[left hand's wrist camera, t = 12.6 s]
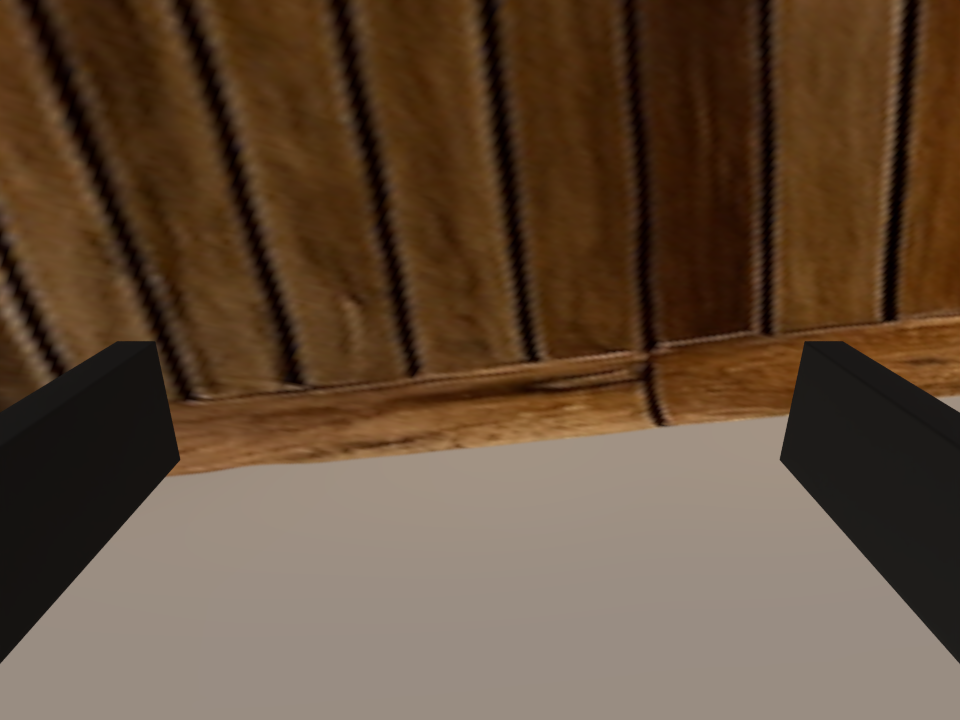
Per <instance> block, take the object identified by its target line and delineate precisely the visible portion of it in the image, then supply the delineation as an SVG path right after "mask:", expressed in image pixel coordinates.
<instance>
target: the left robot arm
mask: <svg viewBox="0 0 960 720" xmlns="http://www.w3.org/2000/svg"><path fill="white" fill-rule="evenodd" d="M179 461H180V456H179V451H178V446H177V442H176V437H175V432H174V428H173V423H172V418H171V413H170V409H169V404H168V399H167V395H166V390H165V385H164V380H163V376H162V371H161V366H160V362H159V357H158V352H157V347H156V343H155V341H117V342H115V343H114V344H112V345H110V346H109V347H107V348H106V349H104V350H102V351H101V352H99V353H97V354H96V355H94V356H92V357H91V358H89V359H88V360H86V361H84V362H83V363H81V364H79V365H78V366H76V367H74V368H73V369H71V370H69V371H68V372H66V373H65V374H63V375H61V376H60V377H58V378H56V379H55V380H53V381H51V382H50V383H48V384H46V385H45V386H43V387H42V388H40V389H38V390H37V391H35V392H33V393H32V394H30V395H28V396H27V397H25V398H23V399H22V400H20V401H19V402H17V403H15V404H14V405H12V406H10V407H9V408H7V409H5V410H4V411H2V412H0V663H1V662H2V661H3V660H4V659H5V658H6V657H7V655H8V654H9V653H10V652H11V651H12V650H13V649H14V647H15V646H16V645H17V644H18V643H19V642H20V641H21V640H22V638H23V637H24V636H25V635H26V634H27V633H28V632H29V630H30V629H31V628H32V627H33V626H34V625H35V624H36V623H37V621H38V620H39V619H40V618H41V617H42V616H43V615H44V614H45V612H46V611H47V610H48V609H49V608H50V607H51V606H52V604H53V603H54V602H55V601H56V600H57V599H58V598H59V597H60V595H61V594H62V593H63V592H64V591H65V590H66V589H67V587H68V586H69V585H70V584H71V583H72V582H73V581H74V580H75V578H76V577H77V576H78V575H79V574H80V573H81V572H82V571H83V569H84V568H85V567H86V566H87V565H88V564H89V563H90V561H91V560H92V559H93V558H94V557H95V556H96V555H97V554H98V552H99V551H100V550H101V549H102V548H103V547H104V546H105V544H106V543H107V542H108V541H109V540H110V539H111V538H112V537H113V535H114V534H115V533H116V532H117V531H118V530H119V529H120V528H121V526H122V525H123V524H124V523H125V522H126V521H127V520H128V518H129V517H130V516H131V515H132V514H133V513H134V512H135V510H136V509H137V508H138V507H139V506H140V505H141V504H142V503H143V501H144V500H145V499H146V498H147V497H148V496H149V495H150V494H151V492H152V491H153V490H154V489H155V488H156V487H157V486H158V484H159V483H160V482H161V481H162V480H163V479H164V478H165V477H166V475H167V474H168V473H169V472H170V471H171V470H172V469H173V468H174V466H175V465H176V464H177V463H178V462H179ZM780 461H781V462H782V463H783V464H784V465H785V466H786V468H787V469H788V470H789V471H790V472H791V473H792V474H793V475H794V477H795V478H796V479H797V480H798V481H799V482H800V483H801V484H802V486H803V487H804V488H805V489H806V490H807V491H808V492H809V494H810V495H811V496H812V497H813V498H814V499H815V500H816V501H817V502H818V504H819V505H820V506H821V507H822V508H823V509H824V511H825V512H826V513H827V514H828V515H829V516H830V517H831V518H832V520H833V521H834V522H835V523H836V524H837V525H838V526H839V528H840V529H841V530H842V531H843V532H844V533H845V534H846V535H847V536H848V538H849V539H850V540H851V541H852V542H853V543H854V544H855V546H856V547H857V548H858V549H859V550H860V551H861V552H862V554H863V555H864V556H865V557H866V558H867V559H868V560H869V561H870V563H871V564H872V565H873V566H874V567H875V568H876V569H877V571H878V572H879V573H880V574H881V575H882V576H883V577H884V578H885V580H886V581H887V582H888V583H889V584H890V585H891V586H892V587H893V589H894V590H895V591H896V592H897V593H898V594H899V595H900V597H901V598H902V599H903V600H904V601H905V602H906V603H907V604H908V606H909V607H910V608H911V609H912V610H913V611H914V612H915V613H916V615H917V616H918V617H919V618H920V619H921V620H922V621H923V623H924V624H925V625H926V626H927V627H928V628H929V629H930V631H931V632H932V633H933V634H934V635H935V636H936V637H937V638H938V640H939V641H940V642H941V643H942V644H943V645H944V646H945V648H946V649H947V650H948V651H949V652H950V653H951V654H952V655H953V657H954V658H955V659H956V660H957V661H958V662H959V663H960V412H958V411H956V410H955V409H953V408H951V407H950V406H948V405H946V404H945V403H943V402H941V401H940V400H938V399H937V398H935V397H933V396H932V395H930V394H928V393H927V392H925V391H923V390H922V389H920V388H918V387H917V386H915V385H914V384H912V383H910V382H909V381H907V380H905V379H904V378H902V377H900V376H899V375H897V374H895V373H894V372H892V371H891V370H889V369H887V368H886V367H884V366H882V365H881V364H879V363H877V362H876V361H874V360H873V359H871V358H869V357H868V356H866V355H864V354H863V353H861V352H859V351H858V350H856V349H854V348H853V347H851V346H850V345H848V344H846V343H845V342H843V341H805V343H804V347H803V352H802V357H801V362H800V366H799V371H798V376H797V380H796V385H795V390H794V395H793V399H792V404H791V409H790V413H789V418H788V423H787V428H786V432H785V437H784V442H783V446H782V451H781V456H780Z"/></svg>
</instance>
